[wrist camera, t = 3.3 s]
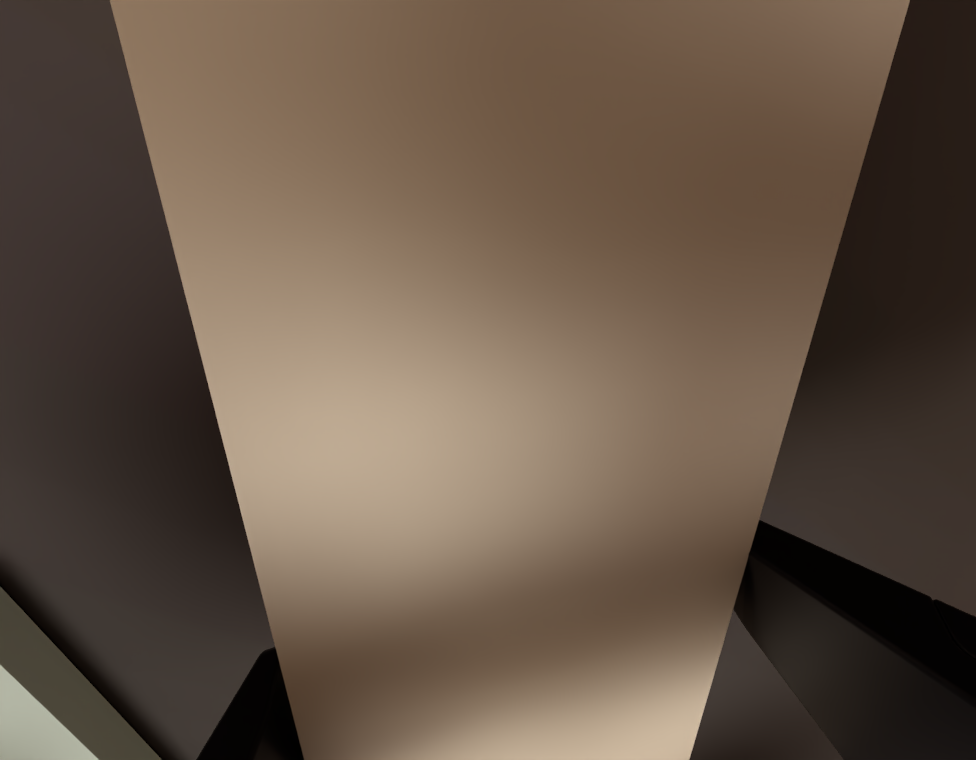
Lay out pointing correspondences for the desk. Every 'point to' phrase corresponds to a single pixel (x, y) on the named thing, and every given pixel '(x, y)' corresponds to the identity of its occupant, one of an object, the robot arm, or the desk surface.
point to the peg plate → (54, 702)
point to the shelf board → (504, 335)
